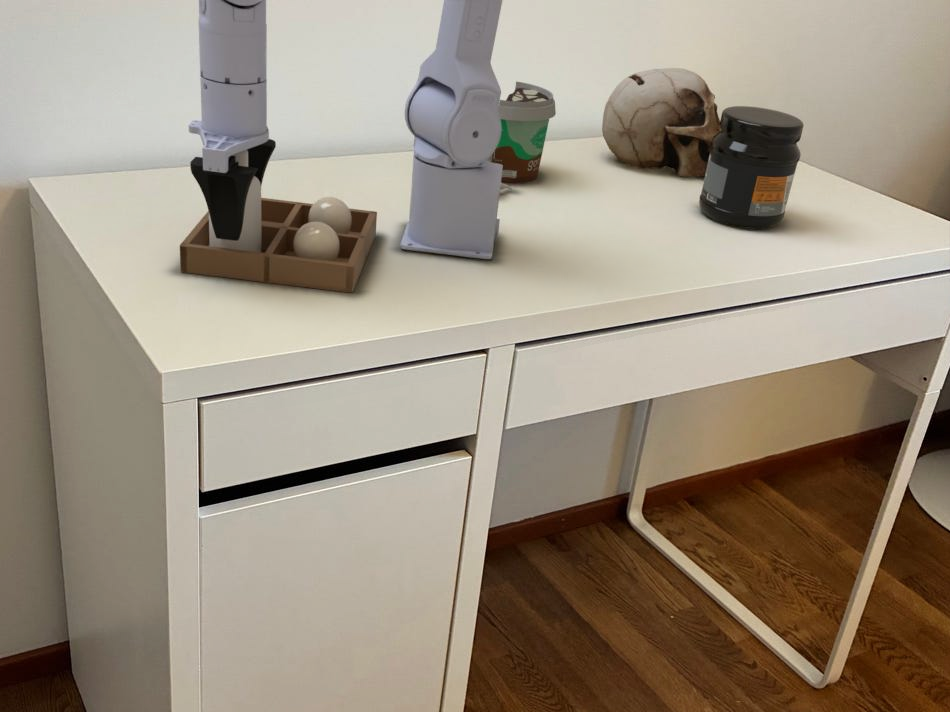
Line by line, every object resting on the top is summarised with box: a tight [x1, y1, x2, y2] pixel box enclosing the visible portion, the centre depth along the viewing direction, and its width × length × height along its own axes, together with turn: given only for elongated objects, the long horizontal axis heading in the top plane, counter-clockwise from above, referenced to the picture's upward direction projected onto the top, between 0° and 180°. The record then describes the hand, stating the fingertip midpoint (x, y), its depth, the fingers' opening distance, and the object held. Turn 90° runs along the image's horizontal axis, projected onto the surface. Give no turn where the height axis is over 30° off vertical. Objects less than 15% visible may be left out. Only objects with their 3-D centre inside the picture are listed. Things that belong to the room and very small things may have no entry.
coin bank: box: [601, 67, 721, 178], centre depth 150 cm, size 16×17×13 cm
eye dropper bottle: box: [209, 150, 263, 253], centre depth 103 cm, size 4×6×12 cm
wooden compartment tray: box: [179, 197, 378, 294], centre depth 109 cm, size 16×16×3 cm
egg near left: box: [308, 196, 352, 234], centre depth 112 cm, size 4×4×4 cm
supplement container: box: [698, 105, 805, 230], centre depth 133 cm, size 10×10×12 cm
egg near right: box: [293, 222, 340, 261], centre depth 105 cm, size 4×4×4 cm
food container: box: [494, 81, 557, 185], centre depth 138 cm, size 12×6×10 cm, turn 168°
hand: (235, 227), depth 105 cm, fingers closed on eye dropper bottle, 5 cm apart
